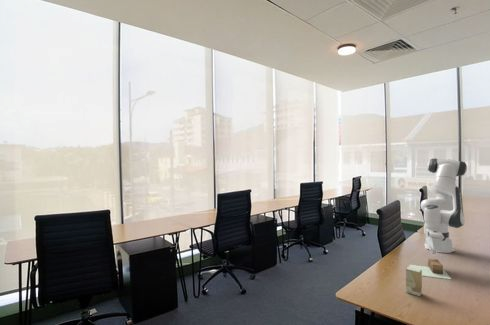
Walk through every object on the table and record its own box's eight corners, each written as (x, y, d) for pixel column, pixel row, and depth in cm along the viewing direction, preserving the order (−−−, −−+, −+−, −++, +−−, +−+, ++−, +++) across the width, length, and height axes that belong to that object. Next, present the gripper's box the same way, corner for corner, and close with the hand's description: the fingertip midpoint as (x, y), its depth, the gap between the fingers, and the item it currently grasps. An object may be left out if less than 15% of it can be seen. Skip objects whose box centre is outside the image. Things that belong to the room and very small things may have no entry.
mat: (409, 265, 168) (409, 264, 168) (443, 269, 161) (443, 268, 161) (413, 274, 153) (413, 274, 153) (451, 279, 146) (451, 279, 146)
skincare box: (405, 292, 133) (405, 268, 133) (408, 289, 136) (407, 266, 136) (420, 296, 128) (419, 271, 128) (422, 293, 131) (421, 269, 131)
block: (427, 258, 164) (432, 264, 154) (437, 259, 162) (442, 265, 152) (428, 266, 164) (432, 273, 154) (437, 267, 162) (443, 274, 152)
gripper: (422, 227, 173) (423, 248, 173) (430, 235, 154) (431, 258, 154) (434, 228, 170) (434, 249, 170) (443, 235, 152) (444, 259, 151)
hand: (433, 253), depth 162 cm, fingers closed
